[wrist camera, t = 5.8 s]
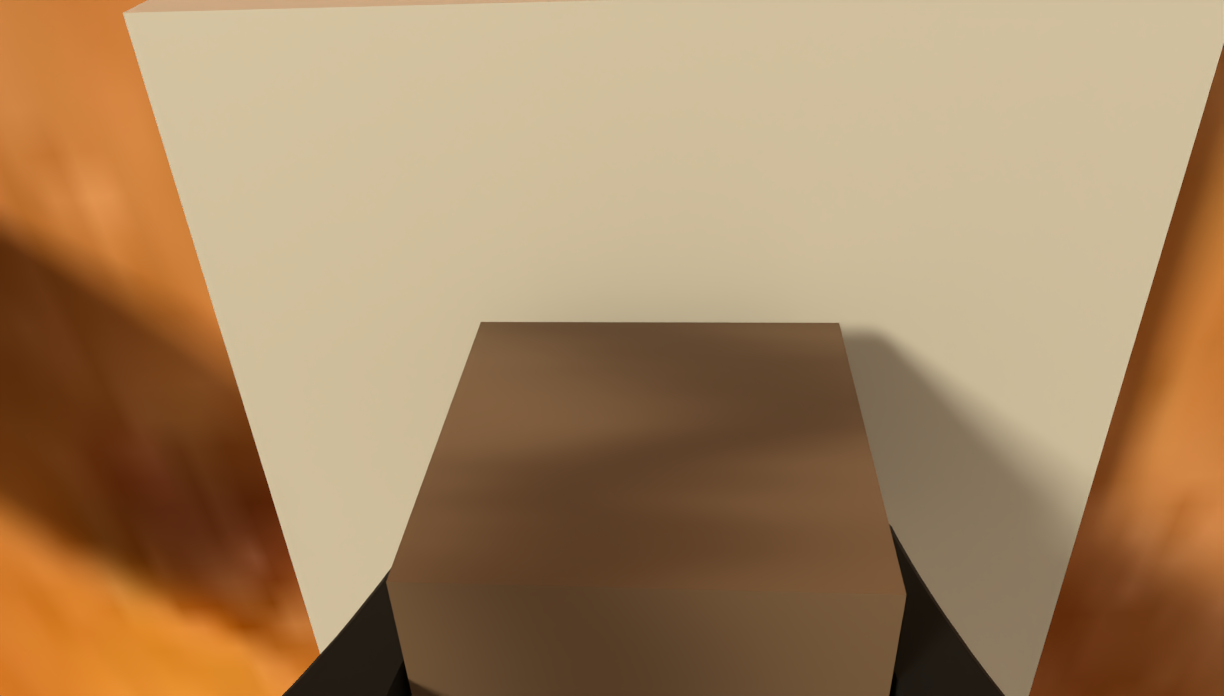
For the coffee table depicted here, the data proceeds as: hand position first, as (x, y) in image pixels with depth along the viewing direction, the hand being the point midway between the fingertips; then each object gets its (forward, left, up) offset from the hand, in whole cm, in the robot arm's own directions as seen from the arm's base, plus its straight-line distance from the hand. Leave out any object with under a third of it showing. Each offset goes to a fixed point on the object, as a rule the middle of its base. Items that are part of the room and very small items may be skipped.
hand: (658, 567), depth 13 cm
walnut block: (0, 0, -2) cm, 2 cm away
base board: (0, 0, -5) cm, 5 cm away
